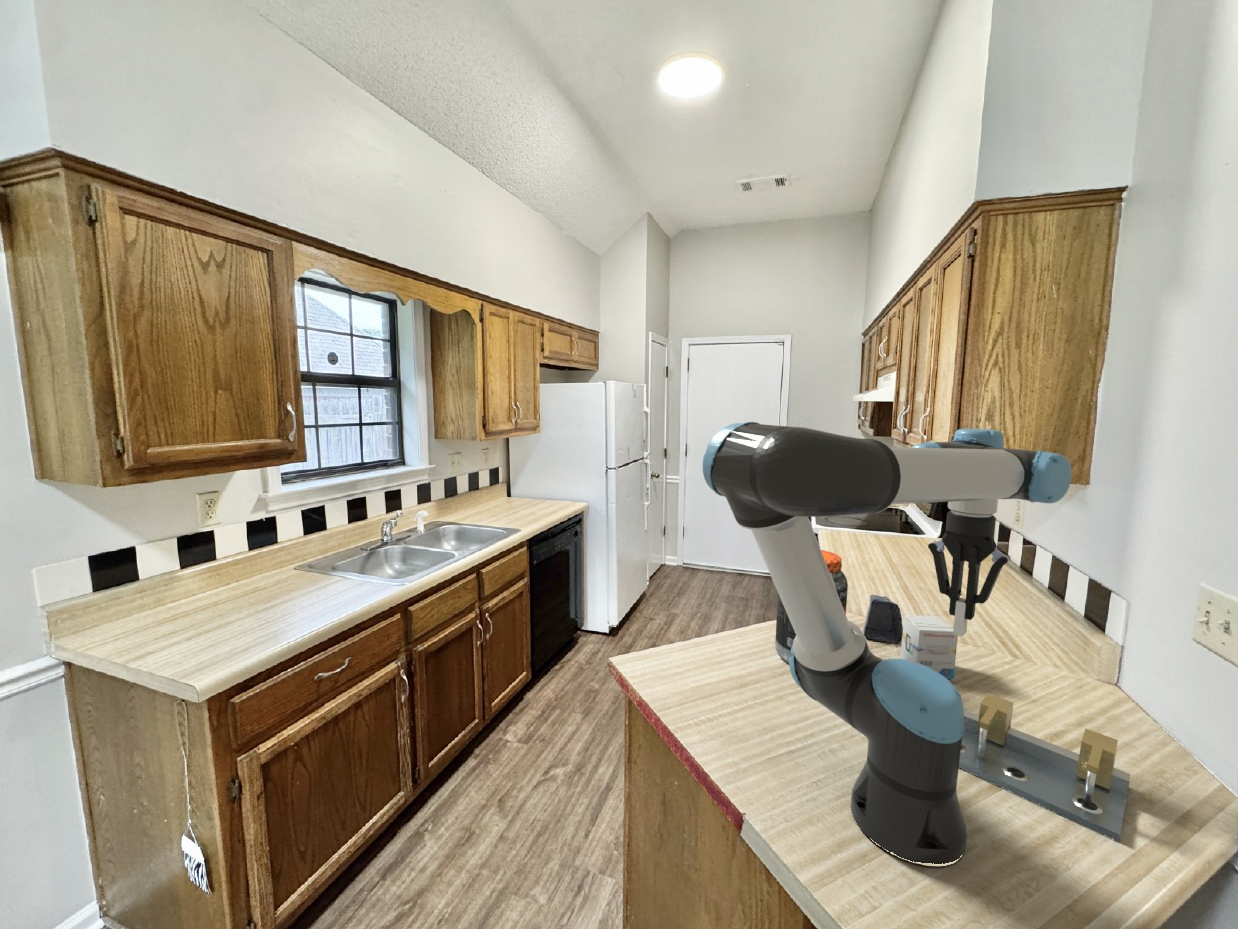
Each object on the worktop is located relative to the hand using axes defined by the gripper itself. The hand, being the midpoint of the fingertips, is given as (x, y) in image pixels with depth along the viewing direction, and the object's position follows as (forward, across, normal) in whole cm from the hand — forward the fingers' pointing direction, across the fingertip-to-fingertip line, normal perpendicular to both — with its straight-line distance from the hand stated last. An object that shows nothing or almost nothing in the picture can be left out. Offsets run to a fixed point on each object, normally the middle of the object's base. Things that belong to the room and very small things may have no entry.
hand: (959, 633), depth 99 cm
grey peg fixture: (+19, -12, +5) cm, 23 cm away
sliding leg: (+17, -7, +4) cm, 19 cm away
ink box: (+19, +10, -19) cm, 29 cm away
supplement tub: (+19, +32, -4) cm, 37 cm away
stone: (+19, +25, -29) cm, 43 cm away
